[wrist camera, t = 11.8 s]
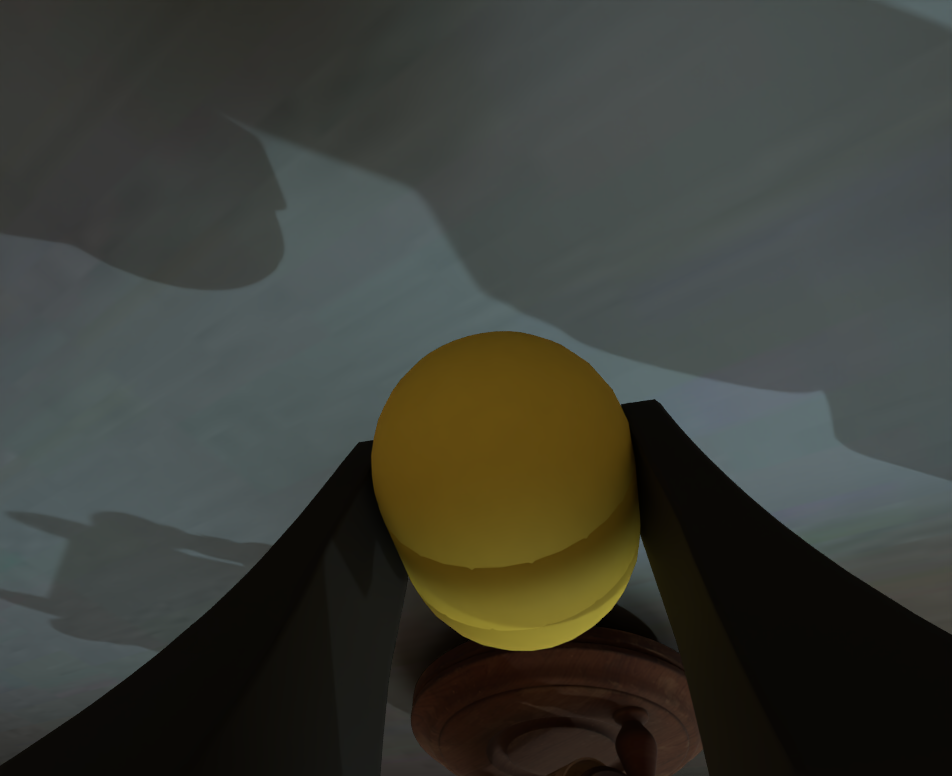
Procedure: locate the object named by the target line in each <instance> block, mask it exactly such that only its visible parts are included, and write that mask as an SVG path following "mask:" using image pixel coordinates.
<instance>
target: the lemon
mask: <svg viewBox="0 0 952 776" xmlns="http://www.w3.org/2000/svg"><path fill="white" fill-rule="evenodd" d="M371 463H372V480H373V487H374V493H375V496H376V500H377V503H378V506H379V510H380V513H381V515H382V518H383V520H384V522H385V525H386V527H387V529H388V531H389V533H390V536H391V538H392V540H393V542H394V545H395V547H396V549H397V551H398V553H399V556H400V558H401V560H402V562H403V565H404V567H405V569H406V571H407V573H408V576H409V578H410V580H411V582H412V584H413V585H414V587H415V589H416V590H417V592H418V593H419V595H420V597H421V598H422V600H423V601H424V602H425V603H426V605H427V606H428V607H429V608H430V609H431V611H432V612H433V613H434V614H435V615H436V616H437V617H438V618H439V619H441V620H442V621H443V622H445V623H446V624H447V625H448V626H450V627H451V628H453V629H454V630H455V631H457V632H458V633H459V634H461V635H462V636H463V637H466V638H468V639H470V640H473V641H475V642H477V643H479V644H482V645H485V646H490V647H495V648H499V649H504V650H510V651H534V650H540V649H545V648H551V647H554V646H557V645H560V644H562V643H565V642H568V641H570V640H573V639H574V638H576V637H577V636H579V635H581V634H582V633H584V632H586V631H587V630H589V629H590V628H592V627H593V626H594V625H596V624H597V623H598V622H599V621H600V620H601V619H602V618H603V617H604V616H605V615H606V614H607V613H608V612H610V611H611V610H612V608H613V607H614V605H615V604H616V602H617V601H618V600H619V598H620V597H621V595H622V594H623V592H624V590H625V588H626V586H627V583H628V581H629V579H630V576H631V574H632V571H633V569H634V566H635V564H636V561H637V555H638V548H639V539H640V526H641V525H640V511H639V498H638V486H637V473H636V460H635V454H634V449H633V444H632V438H631V433H630V427H629V422H628V420H627V418H626V416H625V414H624V412H623V409H622V407H621V405H620V403H619V401H618V400H617V398H616V396H615V394H614V392H613V390H612V389H611V387H610V386H609V385H608V384H607V383H606V382H605V381H604V380H603V378H602V377H601V376H600V375H599V374H598V373H597V372H596V371H595V369H594V368H593V367H592V366H591V365H590V364H589V363H588V362H586V361H585V360H583V359H582V358H580V357H579V356H578V355H576V354H574V353H573V352H571V351H570V350H568V349H567V348H565V347H564V346H562V345H560V344H558V343H555V342H553V341H551V340H548V339H545V338H541V337H538V336H534V335H531V334H526V333H522V332H512V331H496V332H487V333H480V334H476V335H471V336H467V337H464V338H461V339H458V340H455V341H452V342H450V343H448V344H446V345H443V346H441V347H439V348H438V349H436V350H434V351H432V352H431V353H429V354H428V355H426V356H425V357H424V358H422V359H421V360H420V361H419V362H418V363H417V364H416V365H415V366H414V367H413V368H412V369H411V370H410V371H409V372H408V373H407V374H406V375H405V376H404V377H403V378H402V379H401V380H400V381H399V383H398V384H397V385H396V387H395V388H394V389H393V391H392V393H391V395H390V397H389V398H388V400H387V402H386V404H385V406H384V408H383V410H382V413H381V415H380V417H379V419H378V423H377V427H376V432H375V436H374V441H373V447H372V454H371Z"/></svg>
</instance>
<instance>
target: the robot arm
mask: <svg viewBox="0 0 952 776" xmlns="http://www.w3.org/2000/svg"><path fill="white" fill-rule="evenodd" d="M621 407H622V409H623V412H624V414H625V416H626V418H627V420H628V422H629V427H630V433H631V438H632V444H633V449H634V454H635V460H636V473H637V486H638V498H639V511H640V525H641V526H640V535H641V538H642V541H643V544H644V547H645V550H646V553H647V556H648V559H649V562H650V565H651V568H652V571H653V574H654V577H655V580H656V583H657V586H658V589H659V592H660V594H661V597H662V600H663V603H664V606H665V609H666V612H667V615H668V618H669V621H670V624H671V627H672V630H673V633H674V636H675V639H676V642H677V645H678V649H679V652H680V656H681V659H682V662H683V666H684V670H685V675H686V679H687V683H688V687H689V691H690V695H691V699H692V704H693V708H694V712H695V716H696V720H697V724H698V729H699V733H700V737H701V742H702V746H703V750H704V754H705V759H706V763H707V767H708V771H709V776H952V635H951V634H949V633H948V632H946V631H944V630H942V629H940V628H939V627H937V626H935V625H933V624H932V623H930V622H928V621H926V620H925V619H923V618H921V617H919V616H918V615H916V614H914V613H913V612H911V611H909V610H908V609H906V608H905V607H903V606H902V605H900V604H898V603H897V602H895V601H894V600H892V599H890V598H889V597H887V596H886V595H884V594H882V593H881V592H879V591H878V590H876V589H875V588H873V587H871V586H870V585H868V584H867V583H865V582H863V581H862V580H860V579H859V578H857V577H855V576H854V575H852V574H851V573H849V572H848V571H846V570H845V569H843V568H842V567H841V566H839V565H838V564H836V563H835V562H833V561H832V560H831V559H829V558H828V557H826V556H825V555H823V554H822V553H821V552H819V551H818V550H816V549H815V548H814V547H812V546H811V545H810V544H808V543H807V542H806V541H804V540H803V539H802V538H800V537H799V536H798V535H796V534H795V533H794V532H792V531H791V530H790V529H788V528H787V527H786V526H785V525H783V524H782V523H781V522H779V521H778V520H777V519H776V518H775V517H773V516H772V515H771V514H770V513H768V512H767V511H766V510H765V509H764V508H762V507H761V506H760V505H759V504H758V503H757V502H756V501H754V500H753V499H752V498H751V497H750V496H749V495H747V494H746V493H745V492H744V491H743V490H742V489H741V488H740V487H738V486H737V485H736V484H735V483H734V482H733V481H732V480H731V479H730V478H729V477H728V476H727V475H726V474H725V473H724V472H723V471H721V470H720V469H719V468H718V467H717V466H716V465H715V464H714V463H713V462H712V461H711V460H710V459H709V458H708V457H707V456H706V455H705V454H704V453H703V452H702V451H701V450H700V449H699V448H698V447H697V445H696V444H695V443H694V442H693V441H692V440H691V439H690V438H689V437H688V436H687V435H686V434H685V432H684V431H683V430H682V429H681V428H680V427H679V426H678V425H677V423H676V422H675V421H674V420H673V419H672V417H671V416H670V415H669V414H668V413H667V411H666V410H665V409H664V407H663V406H662V405H661V404H660V403H659V402H658V401H656V400H655V399H654V400H647V401H640V402H633V403H626V404H621ZM373 441H374V440H372V441H365V442H359V443H358V444H357V445H356V446H355V447H354V449H353V450H352V451H351V452H350V453H349V455H348V456H347V457H346V458H345V460H344V461H343V462H342V463H341V465H340V466H339V467H338V468H337V470H336V471H335V472H334V474H333V475H332V476H331V477H330V479H329V480H328V481H327V482H326V484H325V485H324V486H323V487H322V489H321V490H320V491H319V492H318V494H317V495H316V496H315V497H314V498H313V500H312V501H311V502H310V503H309V505H308V506H307V507H306V508H305V509H304V511H303V512H302V513H301V514H300V516H299V517H298V518H297V519H296V520H295V521H294V523H293V524H292V525H291V526H290V527H289V528H288V529H287V530H286V532H285V533H284V534H283V535H282V536H281V537H280V538H279V539H278V541H277V542H276V543H275V544H274V545H273V546H272V547H271V548H270V550H269V551H268V552H267V553H266V554H265V555H264V556H263V557H262V559H261V560H260V561H259V562H258V563H257V564H256V565H255V566H254V567H253V568H252V569H251V570H250V571H249V572H248V573H247V574H246V575H245V576H244V577H243V578H242V579H241V580H240V581H239V582H238V583H237V584H236V585H235V586H234V587H233V588H232V589H231V590H230V591H229V592H228V593H227V594H226V595H225V596H224V597H222V598H221V599H220V600H219V601H218V602H217V603H216V604H215V605H214V606H213V607H212V608H211V609H210V610H209V611H207V612H206V613H205V614H204V615H203V616H202V617H201V618H199V619H198V620H197V621H196V622H195V623H194V624H192V625H191V626H190V627H189V628H188V629H187V630H185V631H184V632H183V633H182V634H181V635H179V636H178V637H177V638H176V639H175V640H174V641H172V642H171V643H170V644H169V645H168V646H167V647H165V648H164V649H163V650H162V651H161V652H160V653H158V654H157V655H156V656H155V657H153V658H152V659H151V660H150V661H148V662H147V663H146V664H144V665H143V666H142V667H141V668H139V669H138V670H137V671H135V672H134V673H133V674H132V675H130V676H129V677H128V678H126V679H125V680H124V681H122V682H121V683H120V684H118V685H117V686H116V687H114V688H113V689H112V690H110V691H109V692H108V693H106V694H105V695H104V696H102V697H101V698H99V699H98V700H97V701H95V702H94V703H93V704H91V705H90V706H88V707H87V708H86V709H84V710H83V711H81V712H80V713H79V714H77V715H76V716H74V717H73V718H71V719H70V720H68V721H67V722H65V723H64V724H62V725H61V726H59V727H58V728H56V729H55V730H53V731H52V732H50V733H49V734H47V735H46V736H44V737H43V738H41V739H40V740H38V741H37V742H35V743H34V744H33V745H31V746H30V747H28V748H27V749H25V750H24V751H22V752H21V753H19V754H18V755H16V756H15V757H13V758H11V759H10V760H8V761H7V762H5V763H4V764H2V765H0V776H380V773H381V760H382V747H383V734H384V724H385V713H386V703H387V692H388V683H389V677H390V670H391V664H392V658H393V653H394V648H395V643H396V638H397V633H398V627H399V622H400V617H401V612H402V607H403V602H404V597H405V592H406V587H407V581H408V573H407V571H406V569H405V567H404V565H403V562H402V560H401V558H400V556H399V553H398V551H397V549H396V547H395V545H394V542H393V540H392V538H391V536H390V533H389V531H388V529H387V527H386V525H385V522H384V520H383V518H382V515H381V513H380V510H379V506H378V503H377V500H376V496H375V493H374V487H373V480H372V463H371V454H372V447H373Z"/></svg>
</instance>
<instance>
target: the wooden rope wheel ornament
mask: <svg viewBox="0 0 952 776" xmlns="http://www.w3.org/2000/svg"><path fill="white" fill-rule="evenodd" d="M412 706H413V707H412V713H411V726H412V730H413V733H414V735H415V738H416V740H417V741H418V743H419V744H420V746H421V747H422V748H423V749H424V750H425V751H426V752H427V753H428V754H429V755H430V756H431V757H432V758H434V759H435V760H436V761H438V762H439V763H440V764H442V765H444V766H445V767H446V768H447V769H448V770H450V771H451V772H452V773H454V774H455V775H457V776H671V775H673V774H674V773H676V772H677V771H678V770H680V769H681V768H682V767H683V766H684V765H685V764H686V763H687V762H689V761H690V760H691V759H693V758H694V757H695V756H696V755H697V754H699V753H700V752H701V751H702V750H703V746H702V742H701V737H700V733H699V729H698V724H697V720H696V716H695V712H694V708H693V704H692V699H691V695H690V691H689V687H688V683H687V679H686V675H685V670H684V666H683V662H682V659H681V656H680V654H679V653H678V652H676V651H675V650H673V649H671V648H669V647H667V646H665V645H664V644H661V643H659V642H657V641H654V640H652V639H649V638H646V637H643V636H640V635H637V634H633V633H629V632H625V631H621V630H616V629H610V628H604V627H596V626H593V627H592V628H590V629H589V630H587V631H586V632H584V633H582V634H581V635H579V636H577V637H576V638H574V639H573V640H570V641H568V642H565V643H562V644H560V645H557V646H554V647H551V648H545V649H540V650H534V651H510V650H504V649H499V648H495V647H490V646H485V645H482V644H479V643H477V642H475V641H473V640H471V641H468V642H465V643H463V644H461V645H459V646H457V647H455V648H453V649H451V650H450V651H448V652H446V653H445V654H443V655H442V656H440V657H439V658H438V659H436V660H435V661H434V662H433V663H432V664H431V665H430V666H429V667H427V669H426V670H425V671H424V672H423V674H422V675H421V677H420V678H419V680H418V682H417V684H416V687H415V690H414V696H413V705H412Z"/></svg>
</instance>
